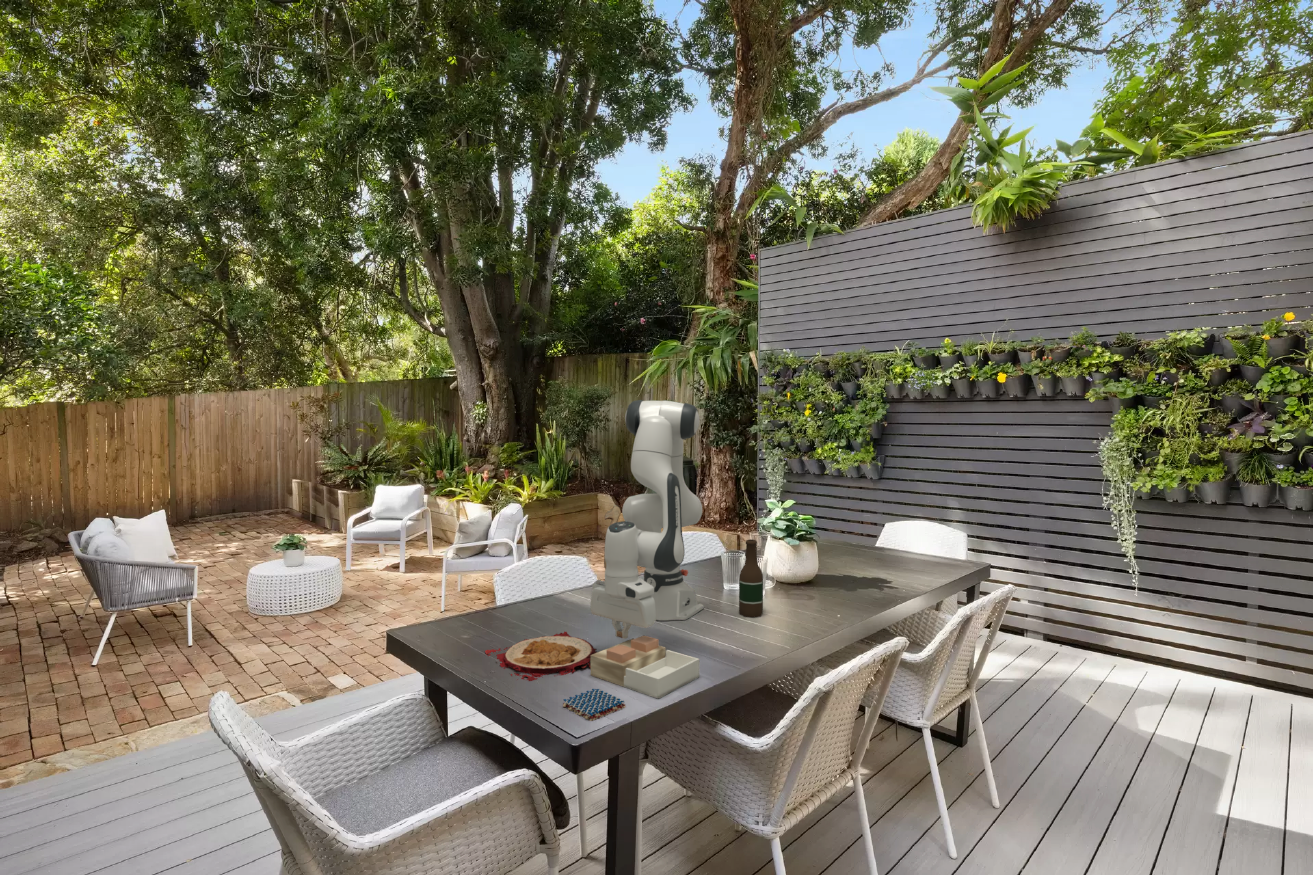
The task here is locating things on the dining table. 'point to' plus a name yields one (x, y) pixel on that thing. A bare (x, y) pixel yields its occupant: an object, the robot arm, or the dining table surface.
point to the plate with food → (547, 655)
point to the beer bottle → (751, 584)
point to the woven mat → (594, 704)
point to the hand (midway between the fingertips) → (621, 637)
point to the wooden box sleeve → (617, 670)
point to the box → (663, 675)
